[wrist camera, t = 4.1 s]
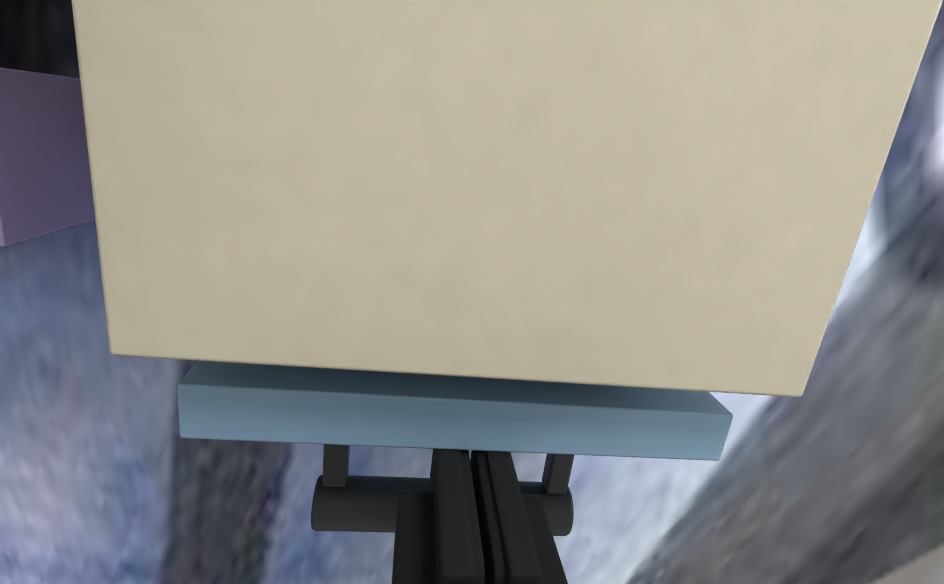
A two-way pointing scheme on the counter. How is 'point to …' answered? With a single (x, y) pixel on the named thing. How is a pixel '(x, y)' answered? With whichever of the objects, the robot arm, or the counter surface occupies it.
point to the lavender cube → (42, 156)
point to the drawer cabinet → (490, 181)
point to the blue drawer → (441, 426)
